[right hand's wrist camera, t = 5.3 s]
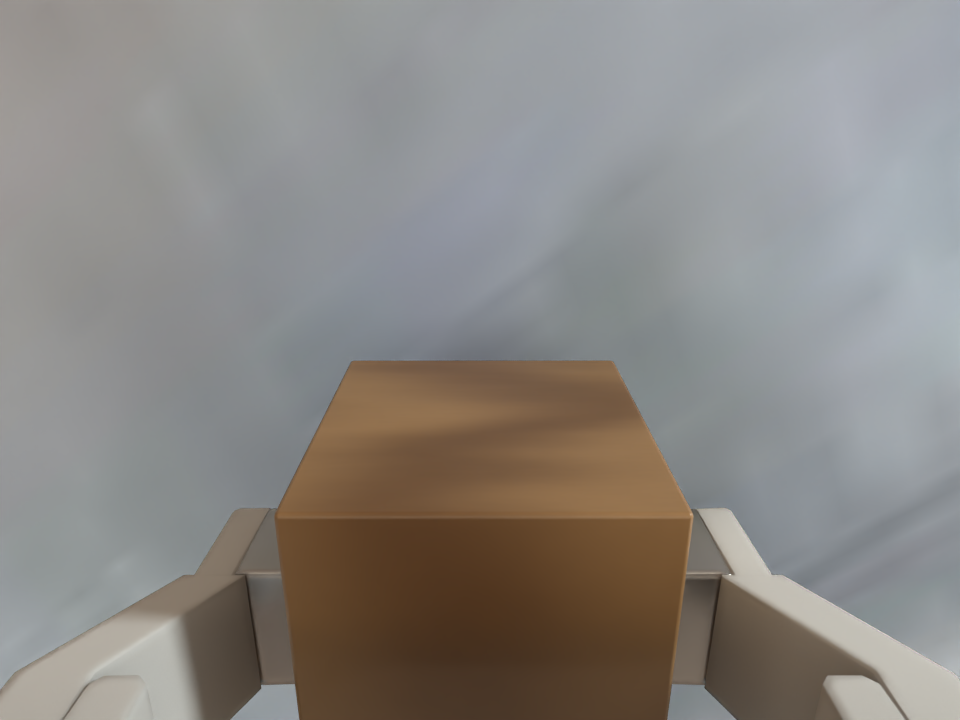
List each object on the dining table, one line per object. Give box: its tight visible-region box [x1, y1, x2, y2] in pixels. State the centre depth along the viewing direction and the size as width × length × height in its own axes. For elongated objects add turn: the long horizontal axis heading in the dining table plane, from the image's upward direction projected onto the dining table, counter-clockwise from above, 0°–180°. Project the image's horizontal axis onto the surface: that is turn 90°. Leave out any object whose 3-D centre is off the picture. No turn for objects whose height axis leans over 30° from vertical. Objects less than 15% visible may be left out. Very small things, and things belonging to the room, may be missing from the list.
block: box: [274, 361, 694, 720], centre depth 10 cm, size 4×5×4 cm
